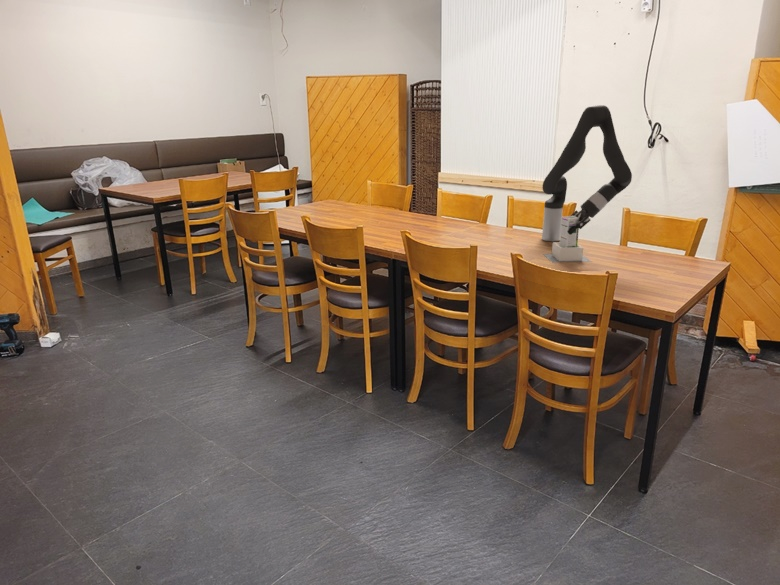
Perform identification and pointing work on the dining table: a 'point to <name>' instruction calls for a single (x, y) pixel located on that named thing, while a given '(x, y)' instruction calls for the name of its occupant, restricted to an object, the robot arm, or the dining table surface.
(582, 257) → the slate board
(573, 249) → the ceramic holder
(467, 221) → the dining table surface
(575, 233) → the syrup box
